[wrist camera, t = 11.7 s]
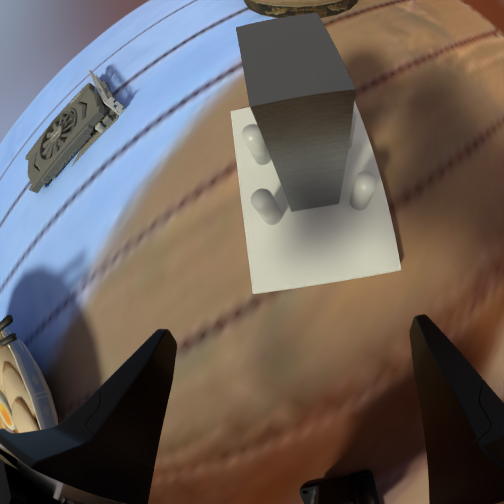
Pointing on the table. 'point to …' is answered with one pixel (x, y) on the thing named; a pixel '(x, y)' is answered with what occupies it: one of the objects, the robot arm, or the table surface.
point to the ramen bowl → (22, 387)
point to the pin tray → (312, 218)
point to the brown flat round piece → (299, 7)
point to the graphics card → (72, 132)
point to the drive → (300, 105)
